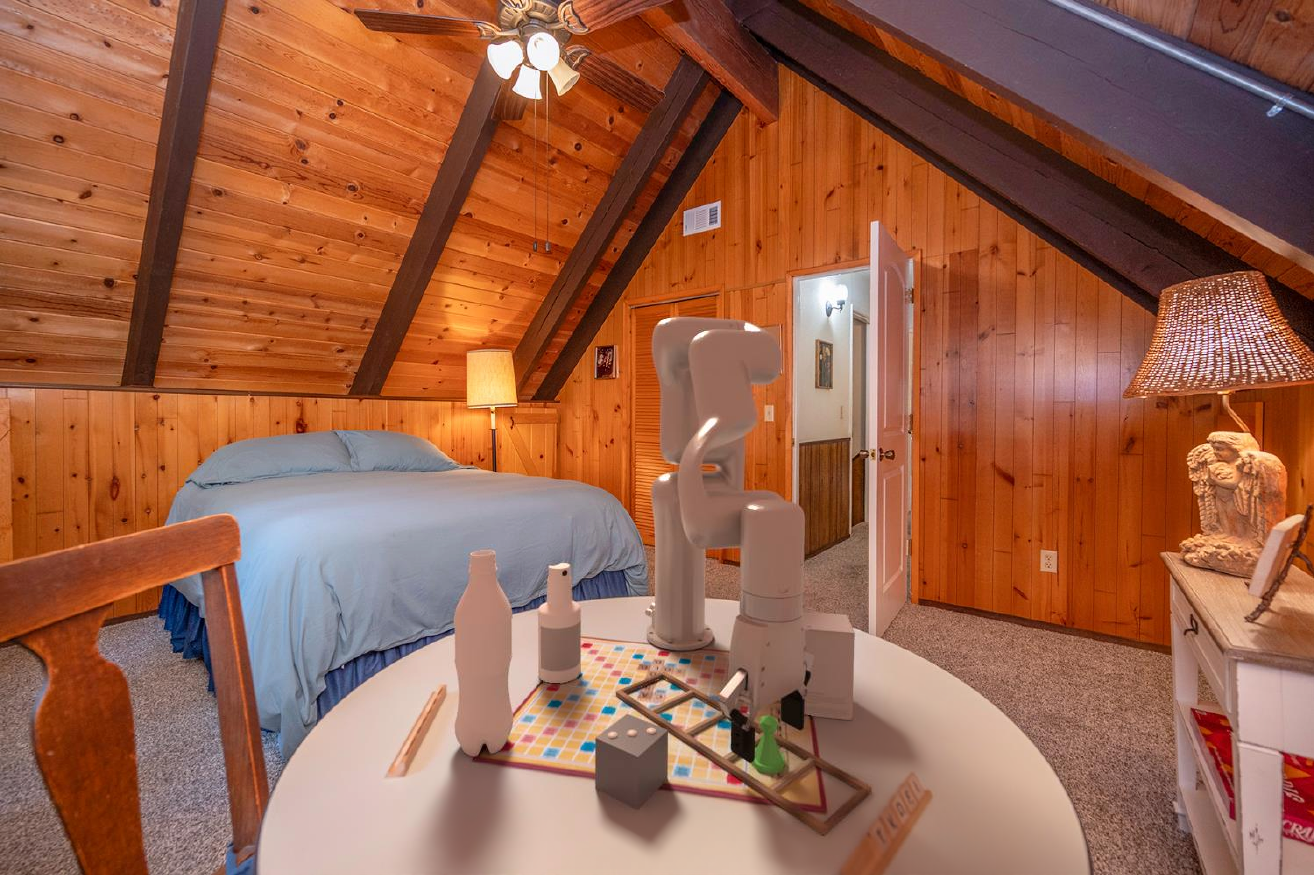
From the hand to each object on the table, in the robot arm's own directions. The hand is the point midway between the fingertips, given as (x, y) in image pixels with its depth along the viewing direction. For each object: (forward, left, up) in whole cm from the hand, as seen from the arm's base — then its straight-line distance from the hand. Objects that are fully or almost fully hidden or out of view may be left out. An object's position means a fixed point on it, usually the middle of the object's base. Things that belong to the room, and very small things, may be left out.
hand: (768, 740), depth 67 cm
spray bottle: (-36, -8, -3) cm, 37 cm away
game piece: (0, 0, -3) cm, 3 cm away
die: (-8, -15, -3) cm, 17 cm away
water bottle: (-26, -25, -3) cm, 36 cm away
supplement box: (-3, +17, -3) cm, 18 cm away
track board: (-7, 0, -3) cm, 8 cm away
